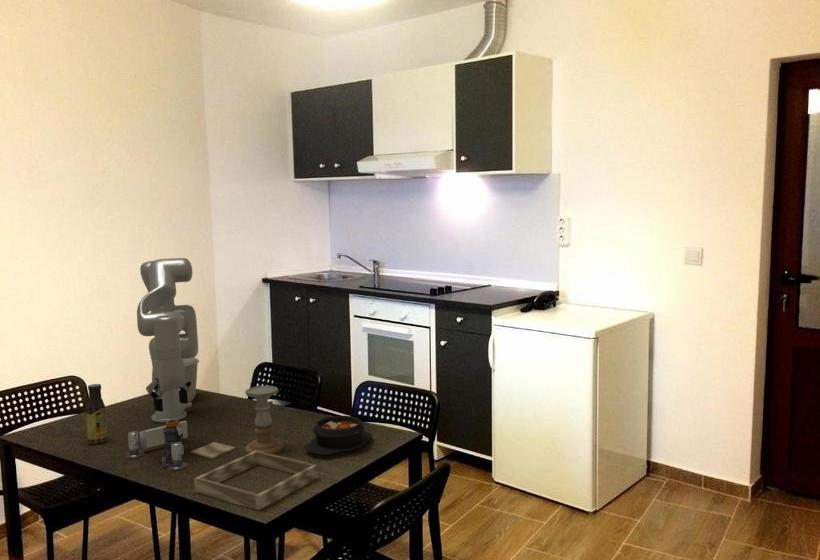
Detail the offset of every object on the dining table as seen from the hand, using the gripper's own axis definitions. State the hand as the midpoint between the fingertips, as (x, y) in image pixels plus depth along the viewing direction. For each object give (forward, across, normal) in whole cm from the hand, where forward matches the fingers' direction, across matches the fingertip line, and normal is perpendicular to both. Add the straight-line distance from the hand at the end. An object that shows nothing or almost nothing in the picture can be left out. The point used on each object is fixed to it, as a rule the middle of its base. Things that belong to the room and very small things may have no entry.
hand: (171, 406), depth 219 cm
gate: (+14, -4, -9) cm, 17 cm away
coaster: (+16, -9, +8) cm, 20 cm away
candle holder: (+16, -18, +22) cm, 33 cm away
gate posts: (+16, +6, -2) cm, 17 cm away
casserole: (+17, -32, +42) cm, 55 cm away
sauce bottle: (+16, +4, -34) cm, 38 cm away
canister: (+15, -42, -48) cm, 65 cm away
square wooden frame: (+17, +4, +40) cm, 44 cm away
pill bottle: (+16, 0, 0) cm, 16 cm away
